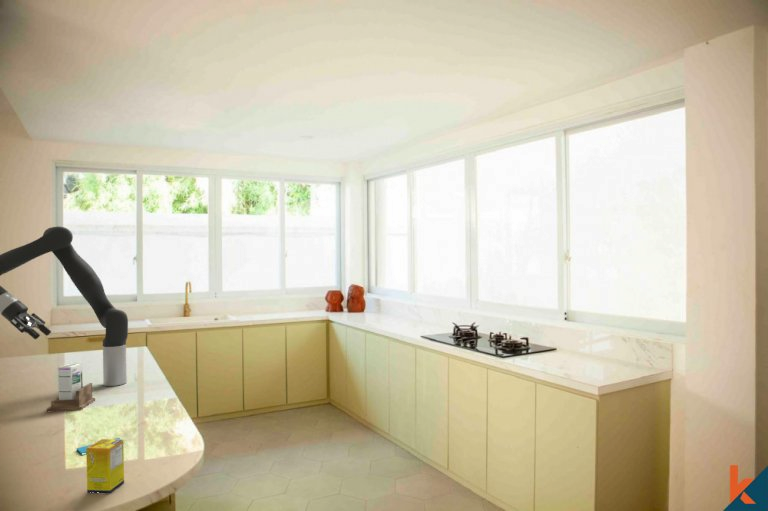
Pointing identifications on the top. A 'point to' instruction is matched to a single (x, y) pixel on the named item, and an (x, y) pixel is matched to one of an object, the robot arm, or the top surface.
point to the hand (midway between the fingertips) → (43, 335)
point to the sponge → (83, 449)
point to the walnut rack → (74, 400)
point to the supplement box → (105, 465)
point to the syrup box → (69, 380)
